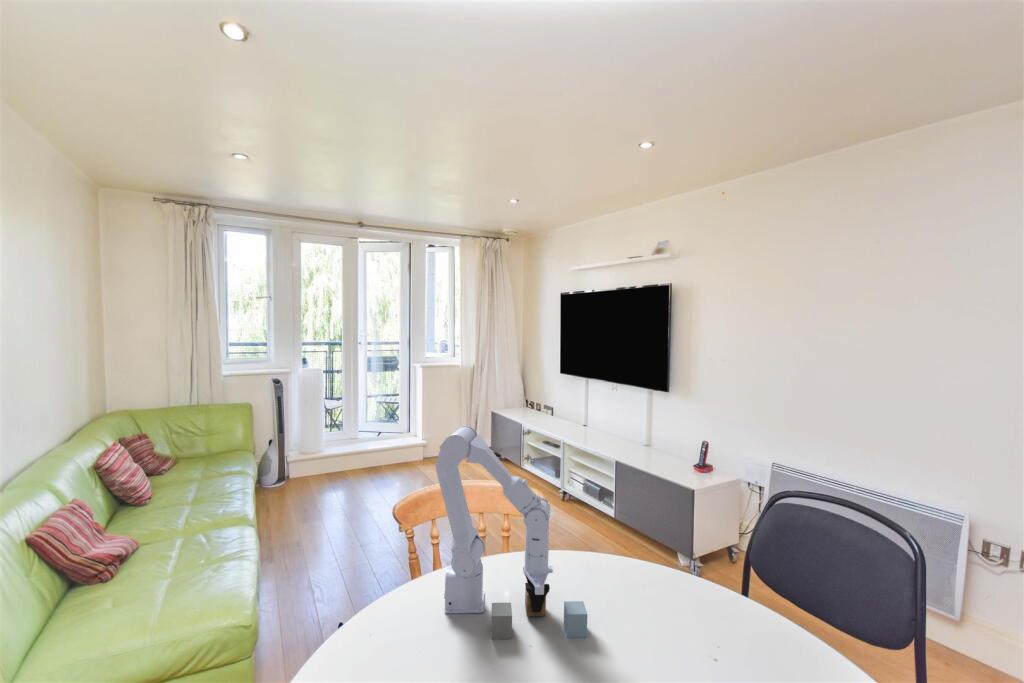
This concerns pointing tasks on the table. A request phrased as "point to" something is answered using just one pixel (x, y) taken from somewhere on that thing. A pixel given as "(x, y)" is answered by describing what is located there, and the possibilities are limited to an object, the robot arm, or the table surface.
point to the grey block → (501, 621)
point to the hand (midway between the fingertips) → (535, 604)
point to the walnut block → (528, 607)
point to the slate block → (575, 619)
